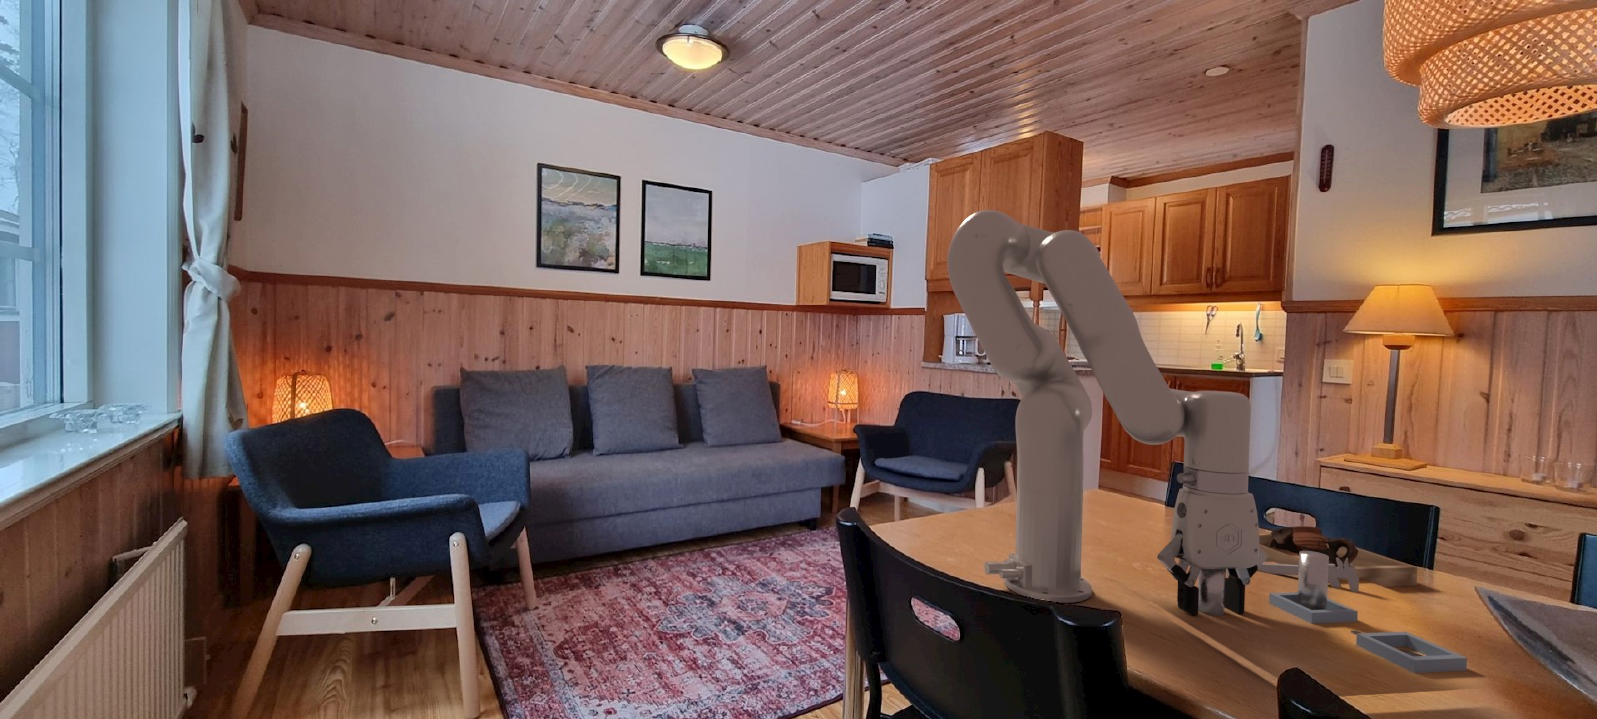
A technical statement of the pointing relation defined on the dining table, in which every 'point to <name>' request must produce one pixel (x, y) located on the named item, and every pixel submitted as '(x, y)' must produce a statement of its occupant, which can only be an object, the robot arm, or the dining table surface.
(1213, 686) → the dining table surface
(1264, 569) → the caliper
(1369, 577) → the brown elongated piece
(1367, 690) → the dining table surface
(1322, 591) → the seated pin
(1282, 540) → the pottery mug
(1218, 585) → the steel pin
